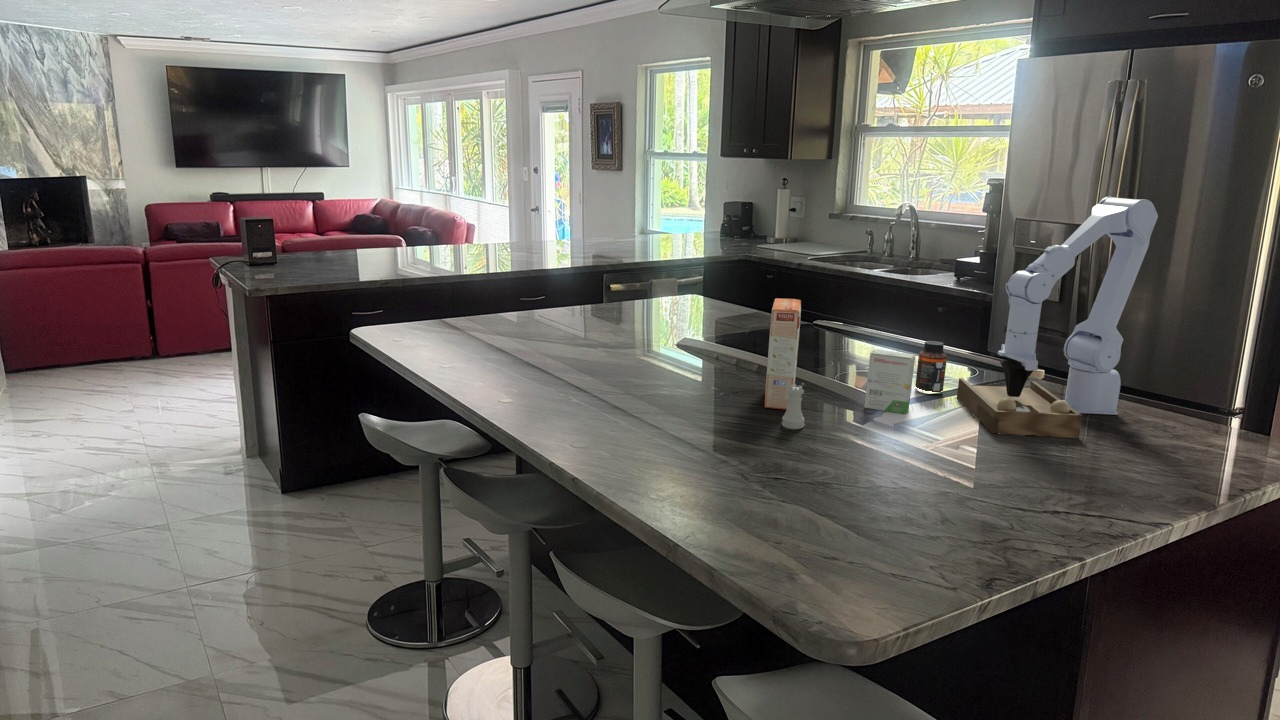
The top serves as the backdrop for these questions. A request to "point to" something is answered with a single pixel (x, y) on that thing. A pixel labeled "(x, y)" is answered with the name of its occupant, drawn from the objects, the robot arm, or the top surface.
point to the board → (1018, 422)
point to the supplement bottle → (931, 367)
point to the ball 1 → (1006, 405)
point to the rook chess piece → (794, 409)
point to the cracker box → (782, 351)
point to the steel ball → (1023, 409)
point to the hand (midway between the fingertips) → (1013, 395)
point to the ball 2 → (1060, 407)
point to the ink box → (889, 381)
